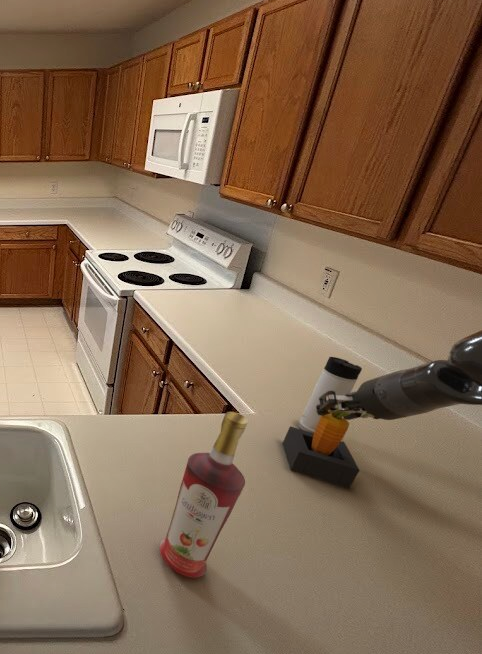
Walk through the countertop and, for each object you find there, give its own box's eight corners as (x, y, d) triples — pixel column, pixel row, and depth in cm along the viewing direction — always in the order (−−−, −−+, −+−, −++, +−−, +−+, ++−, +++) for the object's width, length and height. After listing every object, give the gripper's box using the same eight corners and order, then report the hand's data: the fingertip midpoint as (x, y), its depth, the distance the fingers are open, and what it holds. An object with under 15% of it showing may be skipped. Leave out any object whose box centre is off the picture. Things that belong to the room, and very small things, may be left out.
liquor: (212, 564, 66) (274, 420, 55) (195, 594, 61) (260, 443, 50) (167, 534, 70) (216, 396, 60) (148, 559, 66) (198, 414, 55)
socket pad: (335, 459, 93) (344, 441, 91) (349, 489, 84) (359, 470, 83) (282, 443, 97) (290, 426, 95) (290, 470, 88) (299, 451, 87)
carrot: (296, 454, 91) (324, 396, 86) (310, 451, 93) (338, 394, 88) (320, 470, 87) (350, 410, 82) (334, 466, 89) (365, 407, 84)
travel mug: (291, 424, 105) (322, 355, 97) (309, 421, 107) (341, 353, 99) (316, 440, 99) (351, 368, 92) (334, 436, 101) (370, 366, 94)
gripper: (441, 380, 73) (365, 401, 88) (352, 367, 75) (293, 390, 90) (452, 423, 70) (371, 436, 85) (359, 408, 72) (297, 424, 87)
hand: (331, 412), depth 88 cm, fingers closed on carrot, 4 cm apart
